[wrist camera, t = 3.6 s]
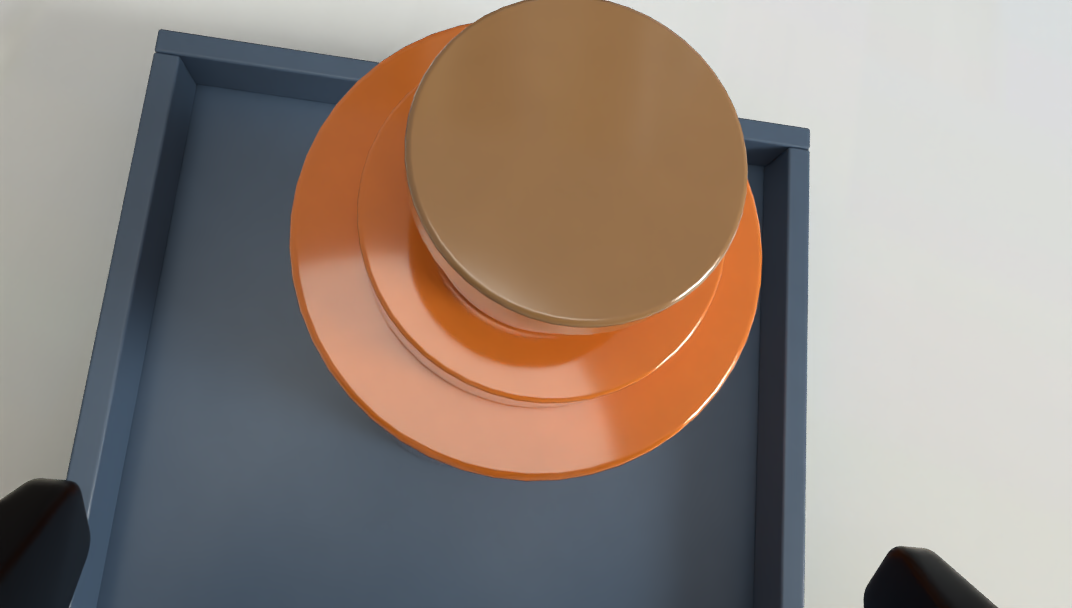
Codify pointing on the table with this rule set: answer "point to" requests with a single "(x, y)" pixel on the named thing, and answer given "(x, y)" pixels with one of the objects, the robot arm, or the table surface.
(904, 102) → the table surface
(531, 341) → the orange bottle
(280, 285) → the blue rectangular tray
